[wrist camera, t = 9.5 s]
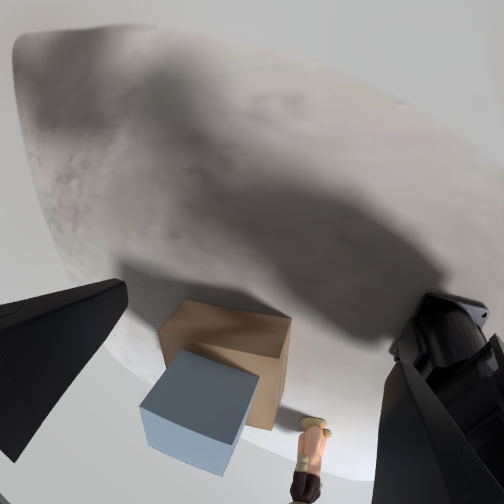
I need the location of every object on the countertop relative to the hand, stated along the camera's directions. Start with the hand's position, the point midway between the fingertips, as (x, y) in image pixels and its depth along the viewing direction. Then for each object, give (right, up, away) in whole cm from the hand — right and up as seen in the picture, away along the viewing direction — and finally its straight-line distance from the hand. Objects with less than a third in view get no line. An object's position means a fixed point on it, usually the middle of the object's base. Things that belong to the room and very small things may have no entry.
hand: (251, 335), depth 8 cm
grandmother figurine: (+7, -17, +19) cm, 26 cm away
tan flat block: (-1, -6, +17) cm, 18 cm away
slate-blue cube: (-3, -8, +13) cm, 15 cm away
